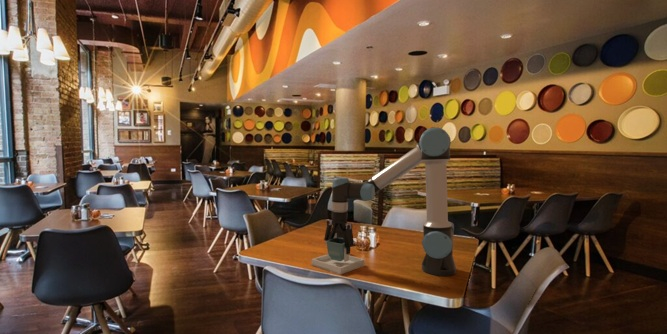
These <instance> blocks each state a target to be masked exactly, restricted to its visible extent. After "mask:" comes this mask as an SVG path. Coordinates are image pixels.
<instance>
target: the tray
mask: <svg viewBox="0 0 667 334" xmlns="http://www.w3.org/2000/svg"><path fill="white" fill-rule="evenodd" d="M311 266H312V267H315V268H318V269H321V270H324V271H327V272H330V273H333V274H336V275H340V276H341V275H344V274H346V273H349V272H351V271H354V270H357V269H359V268H362V267H365V259H364V258H360V257H356V256H353V255H350V254H349V260H348V261H346V262H345V261H344V260H342V261H336V260H332V259H331V258H330V257H328V253H327V254H324V255H320V256H318V257H313V258H311Z"/></svg>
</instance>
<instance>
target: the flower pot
mask: <svg viewBox="0 0 667 334" xmlns="http://www.w3.org/2000/svg"><path fill="white" fill-rule="evenodd" d="M344 247H346V246H345V243H344V240H343V239H342V238H333V239H331V240H328V241H327V244H326V249H327V254H329V256H330V258H331V259H332V260H336V261H342V260H344Z"/></svg>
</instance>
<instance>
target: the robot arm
mask: <svg viewBox="0 0 667 334" xmlns="http://www.w3.org/2000/svg"><path fill="white" fill-rule="evenodd" d="M451 141H452V140H451V137H450V135H449V133H448V132H447V131H446V130H445V129H443V128H442V127H437V126H436V127H435V126H434V127H430V128H428V129H426V130H425V131H423V132H422V134H421V136H420V139H419V142H417V143H416V146H415V147H413V148H412V149H411V150H409V151H408V152H407V153H405V154H403V155H402V156H401V157H399V158H397V160H395V161H393V162H392V163H391V164H389V165H388V166H386V167H385V168H383V169H381V170H380V171H379V172H377V173H376V174H374V175H372V176H371V177H370V178H368V179H367V180H365V181H362V182H352V181H351V182H350V180H349V178H348V177H339V176H337V177H334V178H333V179H332V184H331V185H332V187H331V188H332V189H331V210H332V211H331V219H332V220H327V221H326V228H325V234H324V238H323V240H324V242H325V241H328V240H331V239H333V238H334V236H335V234H336V232H337V230H338V231H340V233H341V234H342V237H343V240H344V243H345V246H346V247H344V261H345V262H346V261H348V260H349V255H350V254H351V247H355V241H354V235H353V224H348V221H347V220H348V215H349V213H348V209H349V200H358V201H361V200H362V201H373V200H374V197H375V195H376V194H377V193H378V192H380V191H381V190H383V189H384V188H386V187H387V186H389V185H390V184H391V183H393V182H395V181H396V180H399V178H402V176H404V175H405V174H407V173H408V172H410V171H411V170H413V169H415V168H417V167H418V166H419V165H420V164H421V165H422V163H424V165H425V166H424V167H425V168H424V169H425V171H424V172H425V198H426V199H425V202H426V204H425V205H426V206H425V207H426V210H425V211H426V220H425V222H423V223H422V224H423V225H422V226H423V227H422V229H423V230H422V231H423V234H422V235H423V239H422V241H421V245H422V249H423V251H424V253H425V255H424V258H423V260H422V263H421V270H422V271H423V272H424V273H427V274H430V275H433V276H439V277H449V276H450V277H451V276H454V275H456V273H457V266H456V262H455V259H454V256H453V254H454V253H453V252H454V231H455V224H454V223H453V222H451V221H449V219H448V218H449V217H448V216H449V215H448V213H449V211H448V210H449V209H448V177H447V173H448V172H447V164H448V163H449V162H450V161H451ZM343 230H344V231H343ZM327 254H328V253H327ZM328 257H330V256H329V254H328Z"/></svg>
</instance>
